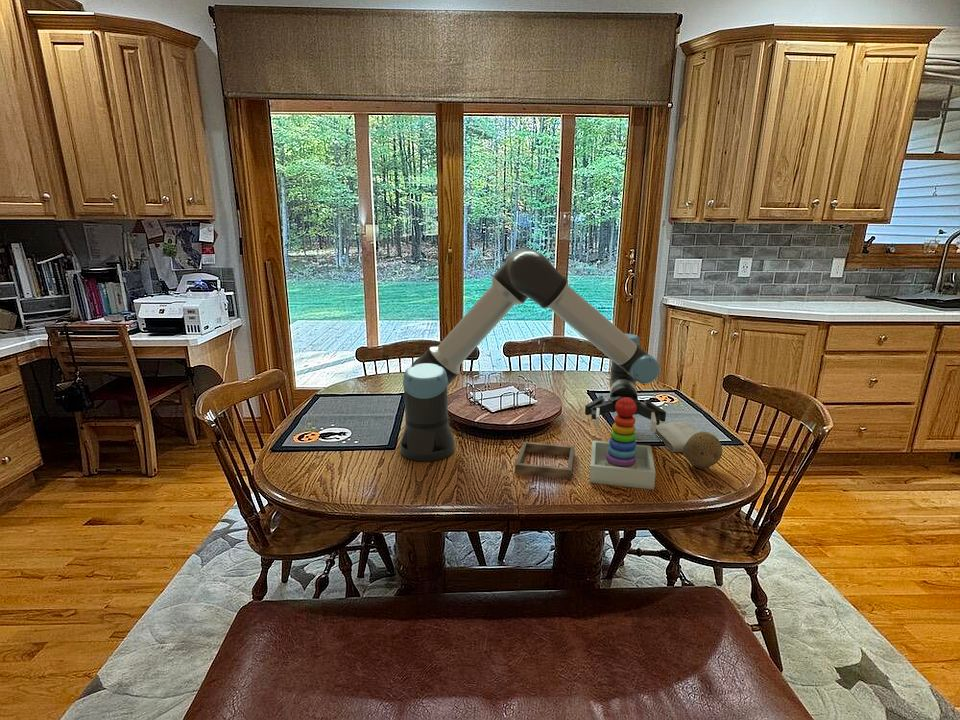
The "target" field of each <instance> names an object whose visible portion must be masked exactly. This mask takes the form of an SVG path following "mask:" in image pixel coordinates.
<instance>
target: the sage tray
mask: <svg viewBox="0 0 960 720" xmlns="http://www.w3.org/2000/svg"><path fill="white" fill-rule="evenodd" d="M609 445H610V443H609V441H604V440H603V441H602V440H592V441H591V453H590V464H589V466H590V467H589V469H590V471H589V483H590V484H597V485H598V484H599V485H600V484H601V485H605V486H606V485H608V486H617V487H623V488H635V489H643V490H651V489H652V490H655V481H656V468H655V463H654V462H655V461H654V456H653V452H652V446H651V445H644V444H636V447H635V448H636V450H637V452H636V455H635V456H636V463H637V469H634V468H624V467H614V466H605V464H604V462H605V460H606V453H607V452H608V446H609ZM652 490H651V491H652Z"/></svg>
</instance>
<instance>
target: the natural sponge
mask: <svg viewBox="0 0 960 720" xmlns="http://www.w3.org/2000/svg"><path fill="white" fill-rule="evenodd" d="M697 432H698V431H697ZM722 446H723V445H722V443H721V441H720V440H719V439H718V438H717V436H716V435H714V434H713V433H710V432H707V431H699V432H698V433H696V434H694V435H693V436H691V437H690V439H689V440H688V441H687V443H686V444H685V446H684V452H683V455H684V457H685V458H686V459H687V460H688V461H689V462H690V463H691V464H692V465H693V466H694V467H696V468H697V469H699V470H706V469H708V468H710V467H712V466H714V465H716V464H717V463H718V462H719V461H720V460H721V459H722V456H723V447H722Z"/></svg>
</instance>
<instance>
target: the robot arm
mask: <svg viewBox="0 0 960 720" xmlns="http://www.w3.org/2000/svg"><path fill="white" fill-rule="evenodd" d="M491 278H492V280H491V281H492V282H491V285H490V287H489V288H487V290H486V291H485V292H484V294H483V295H481V297H480V298H479V299H478V300H477V301H476V302H475V304H474V305H473V306H471V308H470V309H469V310H468V311H467V312H466V314H465V315H463V317H462V318H461V319H460V321H459V322H458V323H456V325H455V326H454V327H453V329H452V330H451V331H450V332H448V334H447V335H446V336H445V338H443V340H442V341H441V342H440V343H439V344H438V345H436V346H435V345H433V346H430V347H428V348H427V350H426V351H425V352H424V354H423V355H421V356H419V357H418V358H417V359H415V360H414V361H413V362H412V364H411V365H410V367H408V368H407V369H406V370H405V371H404V374H403V378H402V385H403V392H404V393H403V394H404V417H405V418H404V420H405V427H404V428H403V429H404V430H403V433H402V436H401V441H400V443H399V444H400V446H399V447H400V448H399V449H400V454H401V456H403V457H404V458H405V457H406V459H407V458H408V460H410V459H411V460H410V461H415V462H421V463H422V462H436V461H441V460H442V459H443V460H444V459H446V458H448V457H450V456H452V455H453V454H454V452H455V450H456V445H455V444H456V442H455V441H456V440H455V438H454V436H453V432H452V429H451V427H450V424H449V407H448V406H449V405H448V387H449V386H450V384H451V383H453V381H454V380H455V379H456V378H457V377H458V376H459V375H460V373H461V370H460V369H461V364H463V362H464V361H465V360H466V359H467V358H468V357H469V356H470V355H471V354H472V352H474V350H475V349H476V348H477V347H478V346H479V345H480V344H481V342H483V341H484V339H485V338H486V337H487V336H488V334H490V333H491V331H493V329H494V328H495V327H496V326H497V325H498V323H500V322H501V320H502V319H503V318H504V317H505V316H506V315H507V314H508V313H509V311H510V310H511V309H513V307H514V306H515V305H516V306H517V305H524V303H525V301H527V300H528V299H530V300H532V301H533V302H535V304H537V305H538V306H540V307H541V308H542V309H545V310H546V309H549V310H551V311H552V312H553V313H554V314H556V316H558V317H559V319H560V318H561V320H563V321H564V322H565V323H567V324H568V325H569V326H570V327H571V328H573V329H574V330H575V331H576V332H577V333H579V334H580V335H581V336H582V337H583V338H584V339H586V340H587V341H588V342H590V343H591V344H592V345H593V346H594V347H596V348H597V350H599V351H600V352H602V354H604V355H605V356H606V357H608V358H609V360H611V368H610V379H609V388H610V390H609V398H608V399H607V398H604V396H603V395H599V396H598V398H596V399H594V400H593V401H591V402H590V403H588V404H585V405H584V407H585V408H584V414H585V416H589V415H591V417H590V418H591V420H595V425H594V427H595V428H599V426H600V425H599V424H600V416H602V415H605V414H608V413H617V412H616V410H615V405H616V402H617V401H618V400H619V399H621V398H624V397H628V398H631V399H632V400H634V402H635V403H636V406H637V409H636V412H635V414H634V415H639V416H641V417H644V418H646V419H648V420H650V426H651V427H652V429H651V431H652V433H654V432H656V425H659V424H660V422H666V418H667V411H665V410H664V409H662V408H660V407H659V406H658V405H656V404H654V403H653V402H652V401H651V400H650V399H645V401H641V400H639V398H638V390H637V382H638V383H639V384H649V383H651V382H653V381H655V380H656V379H657V377H658V376H659V374H660V370H661V369H660V364H659V362H658V360H657V359H656V358H654V356H652V355H650V354H649V353H647V352H646V351H645V350H644V349H643V348H641V344H640V337H639V336H638V335H636V334H631V333H624V332H623V331H622V330H621V329H619V328H618V327H617V326H616V325H615V324H614V323H613V322H611V321H610V320H609V318H607V317H606V316H605V315H603V314H602V313H601V312H600V311H599V310H597V309H596V308H595V307H594V306H592V305H591V304H590V303H589V302H588V301H587V300H586V299H584V298H583V297H582V296H581V295H579V293H578V292H577V291H575V290H574V289H573V288H571V287H570V285H569V280H568V279H567V278H566V277H565V276H563V274H561V272H559V270H557V268H556V267H555V266H554V265H553V264H552V263H551V262H550V260H549V259H548V258H547V257H546V256H545V255H543V254H542V253H541V252H538V251H537V250H535V249H532V248H528V247H522V248H517V249H515V250H513V251H511V252H510V253H508V255H507V256H506V257H505V259H504V261H503V264H502V265H501V266H500V267H499V268H498V269H497V271H495V273H494V274H493V275H492V276H491Z"/></svg>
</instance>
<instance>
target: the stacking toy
mask: <svg viewBox="0 0 960 720" xmlns="http://www.w3.org/2000/svg"><path fill="white" fill-rule="evenodd" d="M636 409H637V406H636V403H635V402H634V400H632V399H631V398H628V397H624V398H621V399H619V400H618V401H617V402H616V405H615V410H616V412H615V413H617V414H616V415H615V416H614V420H613V421H614V422H613V424H612V426H611V429H612V430H611V433H610V436H611V437H610V438H609V441H608V442H609V443H610V445H609V446H608V452H607V453H606V460H605V462H604V464H605V466H614V467H624V468H634V469H637V463H636V456H635V455H636V452H637V450H636V448H635V447H636V445H637V441H636V439H637V435H636V433H635V431H636V427H635V423H636V418H635V417H634V415H635V412H636Z"/></svg>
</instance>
